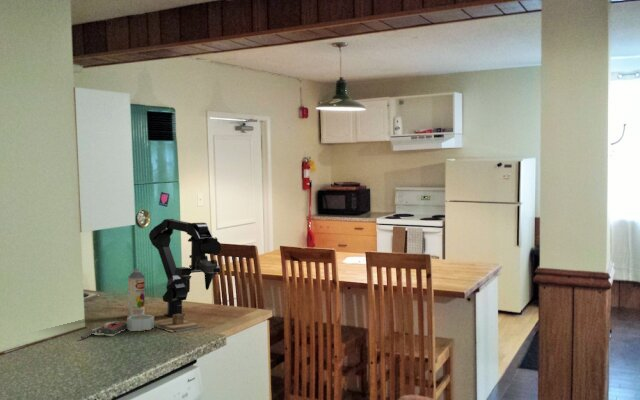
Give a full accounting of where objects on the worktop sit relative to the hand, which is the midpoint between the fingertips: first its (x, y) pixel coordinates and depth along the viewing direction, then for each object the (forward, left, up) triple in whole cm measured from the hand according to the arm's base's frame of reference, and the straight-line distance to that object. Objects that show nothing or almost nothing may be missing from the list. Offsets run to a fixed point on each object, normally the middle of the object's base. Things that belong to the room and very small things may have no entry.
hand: (197, 290), depth 235 cm
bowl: (-1, -25, -12) cm, 28 cm away
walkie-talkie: (-2, -39, -13) cm, 41 cm away
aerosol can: (-23, -15, -12) cm, 30 cm away
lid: (+6, -13, -12) cm, 18 cm away
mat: (+6, -13, -12) cm, 19 cm away
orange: (-1, -25, -9) cm, 27 cm away
